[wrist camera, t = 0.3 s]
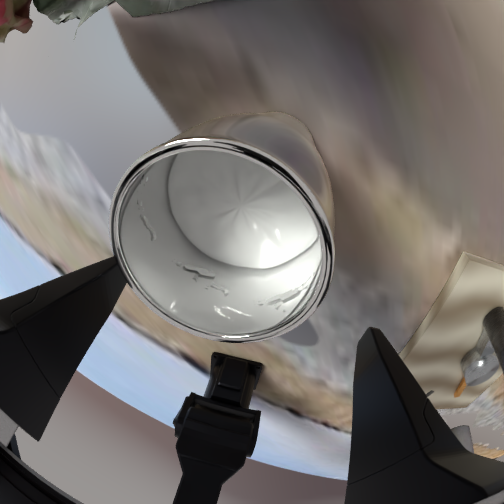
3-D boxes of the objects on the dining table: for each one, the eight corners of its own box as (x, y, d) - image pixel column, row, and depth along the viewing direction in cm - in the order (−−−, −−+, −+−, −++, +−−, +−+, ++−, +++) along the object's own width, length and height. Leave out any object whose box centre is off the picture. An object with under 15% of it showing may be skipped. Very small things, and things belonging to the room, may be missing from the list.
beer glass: (310, 202, 22) (303, 365, 9) (224, 184, 22) (119, 315, 10) (329, 116, 18) (381, 162, 5) (234, 99, 18) (94, 122, 6)
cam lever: (469, 390, 28) (482, 450, 19) (442, 397, 30) (452, 460, 21) (512, 302, 20) (550, 378, 11) (481, 311, 21) (516, 395, 12)
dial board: (464, 400, 33) (466, 408, 31) (361, 398, 35) (362, 408, 33) (557, 286, 19) (563, 294, 17) (463, 251, 21) (470, 261, 19)
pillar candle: (429, 445, 44) (433, 497, 32) (437, 432, 40) (443, 491, 27) (463, 434, 41) (469, 484, 29) (474, 419, 37) (484, 475, 24)
